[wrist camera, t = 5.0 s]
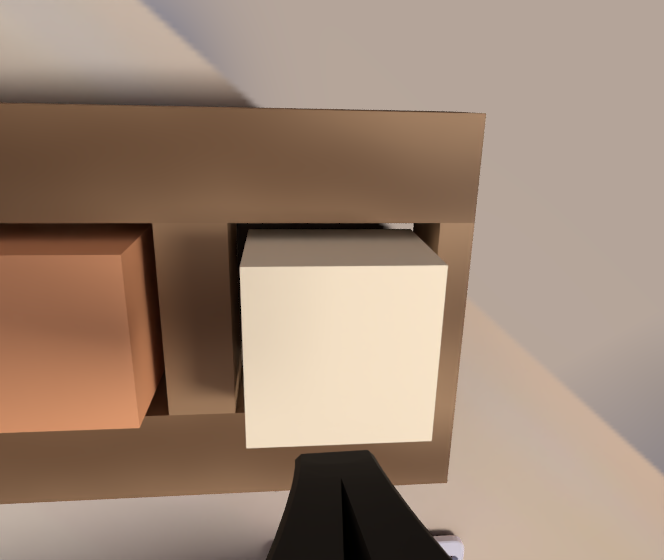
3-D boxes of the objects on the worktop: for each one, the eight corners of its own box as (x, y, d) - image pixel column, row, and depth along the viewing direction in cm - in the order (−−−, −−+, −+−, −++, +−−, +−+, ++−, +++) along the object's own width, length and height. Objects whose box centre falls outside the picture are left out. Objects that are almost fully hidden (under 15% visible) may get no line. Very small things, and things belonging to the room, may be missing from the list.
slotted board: (423, 431, 21) (446, 482, 18) (-246, 456, 19) (-340, 520, 16) (452, 111, 17) (486, 113, 14) (-384, 94, 15) (-540, 93, 12)
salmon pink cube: (167, 363, 18) (139, 428, 15) (16, 366, 18) (-52, 434, 14) (155, 221, 17) (120, 255, 13) (-11, 221, 16) (-95, 256, 13)
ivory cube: (400, 372, 18) (431, 441, 14) (253, 376, 18) (246, 448, 14) (410, 229, 17) (448, 265, 13) (248, 229, 16) (239, 267, 12)
